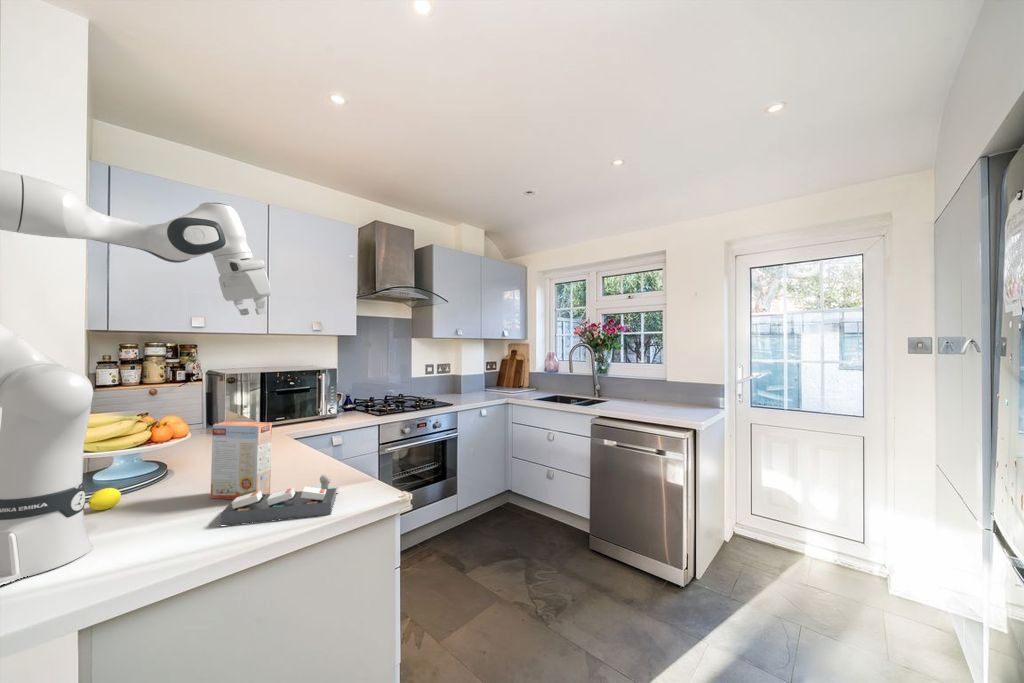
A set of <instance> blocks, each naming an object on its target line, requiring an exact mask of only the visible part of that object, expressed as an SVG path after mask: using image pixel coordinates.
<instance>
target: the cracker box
mask: <svg viewBox="0 0 1024 683" xmlns="http://www.w3.org/2000/svg"><path fill="white" fill-rule="evenodd" d="M272 425H273V423H272V422H269V421H268V422H266V421H265V422H264V421H263V422H262V421H259V422H258V421H240V420H239V421H237V420H236V421H233V420H229V421H223V422H218V423H215V424H212V439H211V440H212V442H211V443H212V444H211V471H210V472H211V474H210V498H211V499H225V500H226V499H228V500H234V499H235V498H236V497H240V496H244V495H247V494H250V493H254V492H257V491H260V490H261V493H262V494H265V495H266V494H271V467H272V462H271V461H272V436H273V434H272V430H273V428H272V427H273V426H272Z"/></svg>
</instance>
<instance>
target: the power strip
mask: <svg viewBox="0 0 1024 683" xmlns="http://www.w3.org/2000/svg"><path fill="white" fill-rule="evenodd" d="M302 491H303V490H302ZM302 491H297V490H296V491H295V495H294V496H293V498H291V499H288V500H285V501H282V502H279V503H276V504H272V505H269V506H268V502H267V499H268V498H269V496H270V495H271V494H272V493H269V494H266V495H265V494H262V497H261V499H260V500H259V501H258V502H255V503H251V504H248V505H245V506H242V507H238V508H235V509H233V506H232V502H233V501H234V500H235V499H236V498H237V497H236V498H235V499H232V501H231V502H230V503H229V504H227V506H226V507H225V508H224V509H223V510H222V512H221V513H220V526H221V525H230V526H233V525H232V524H239V525H243V524H242V523H249V524H255V523H254V522H258V523H263V521H267V522H273V521H272V520H276V521H280V520H279V519H286V520H289V519H288V518H295V519H299V518H298V517H304V518H309V517H308V516H313V517H318V516H317V515H323V516H327V515H326V514H332V512H333V509H332V508H334V506H335V503H336V500H335V499H336V498H337V497H336V496H337V494H336V488H335V487H334V488H333V489H327V491H326V494H325V497H324V499H323V500H316V499H308V498H301V494H302ZM334 502H335V503H334ZM333 505H334V506H333ZM252 522H253V523H252Z"/></svg>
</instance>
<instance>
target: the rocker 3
mask: <svg viewBox="0 0 1024 683" xmlns="http://www.w3.org/2000/svg"><path fill="white" fill-rule="evenodd" d="M326 491H327V489H319V488H312V486H311V487H310V486H304V488H303V490H302V494H301V498H308V499H316V500H323V499H324V497H325V494H326Z"/></svg>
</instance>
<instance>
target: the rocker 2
mask: <svg viewBox="0 0 1024 683" xmlns="http://www.w3.org/2000/svg"><path fill="white" fill-rule="evenodd" d="M270 494H271V495H270V496H269V498H268V499H267V502H268V506H269V505H272V504H276V503H279V502H282V501H285V500H288V499H291V498H293V496H294V495H295V487H291V488H287V489H285V490H282V491H278V492H274V493H270Z"/></svg>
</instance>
